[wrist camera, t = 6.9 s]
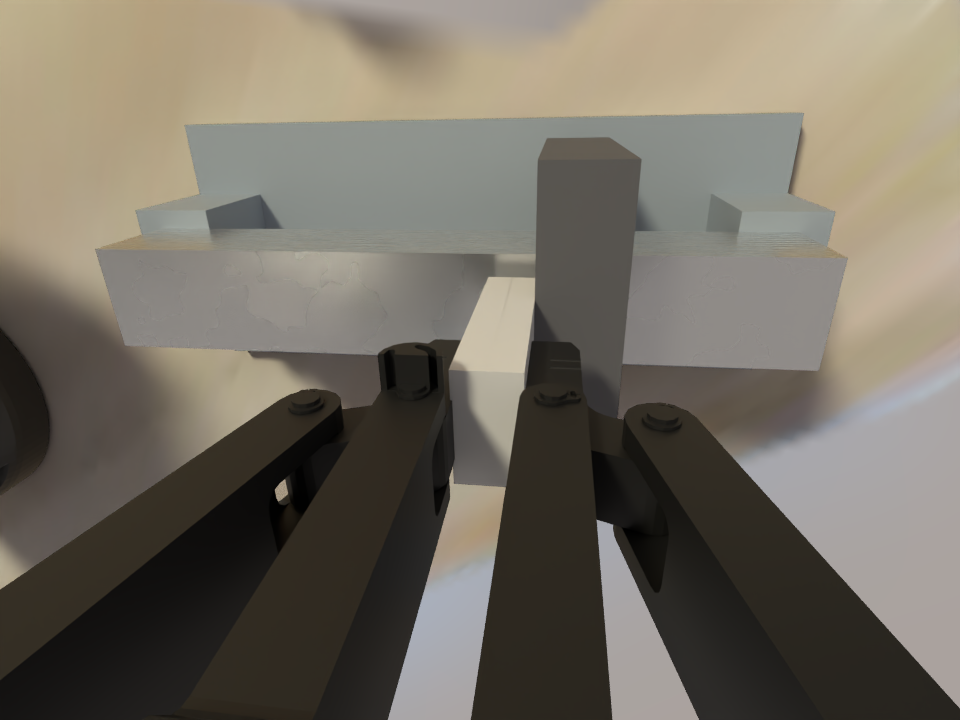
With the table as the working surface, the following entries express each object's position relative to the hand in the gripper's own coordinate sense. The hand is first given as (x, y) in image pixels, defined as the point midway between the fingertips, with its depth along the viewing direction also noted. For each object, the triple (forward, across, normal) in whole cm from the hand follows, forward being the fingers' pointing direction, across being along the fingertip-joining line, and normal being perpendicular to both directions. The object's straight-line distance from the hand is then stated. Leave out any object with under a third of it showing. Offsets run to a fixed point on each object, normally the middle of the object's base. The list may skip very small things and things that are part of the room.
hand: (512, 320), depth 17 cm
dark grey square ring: (+8, +2, 0) cm, 8 cm away
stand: (+10, -2, 0) cm, 10 cm away
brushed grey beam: (+5, -2, 0) cm, 5 cm away
